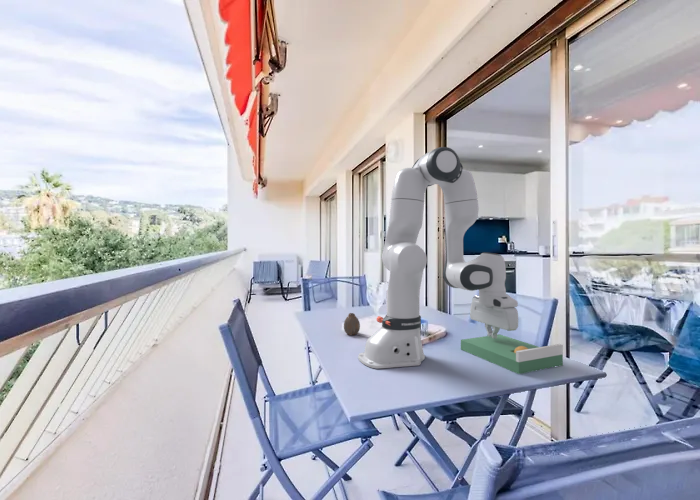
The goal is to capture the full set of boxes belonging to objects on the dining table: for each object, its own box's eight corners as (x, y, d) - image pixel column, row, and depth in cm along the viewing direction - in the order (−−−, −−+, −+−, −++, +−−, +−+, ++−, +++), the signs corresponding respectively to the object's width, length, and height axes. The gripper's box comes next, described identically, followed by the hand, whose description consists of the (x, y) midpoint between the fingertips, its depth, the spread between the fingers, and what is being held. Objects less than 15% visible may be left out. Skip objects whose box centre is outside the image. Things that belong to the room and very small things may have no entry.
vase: (340, 334, 152) (340, 313, 152) (352, 331, 157) (352, 311, 157) (351, 337, 147) (351, 316, 147) (363, 334, 152) (363, 313, 151)
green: (518, 374, 104) (518, 352, 104) (460, 349, 128) (460, 331, 128) (562, 365, 111) (562, 344, 111) (499, 343, 135) (499, 326, 135)
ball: (522, 349, 110) (513, 361, 112) (536, 356, 110) (527, 368, 112) (517, 340, 115) (508, 352, 117) (531, 346, 115) (522, 358, 117)
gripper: (465, 295, 134) (465, 331, 135) (506, 303, 115) (506, 346, 115) (479, 294, 136) (479, 329, 137) (521, 302, 117) (521, 344, 118)
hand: (492, 337), depth 126 cm, fingers closed
